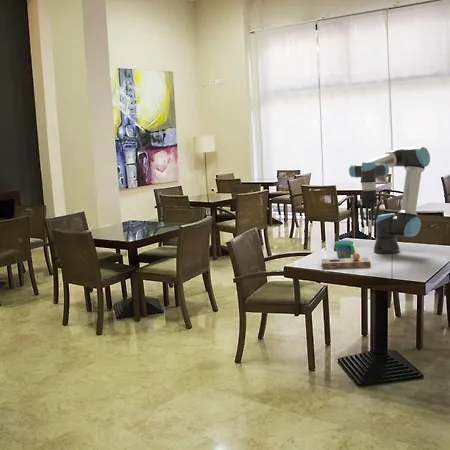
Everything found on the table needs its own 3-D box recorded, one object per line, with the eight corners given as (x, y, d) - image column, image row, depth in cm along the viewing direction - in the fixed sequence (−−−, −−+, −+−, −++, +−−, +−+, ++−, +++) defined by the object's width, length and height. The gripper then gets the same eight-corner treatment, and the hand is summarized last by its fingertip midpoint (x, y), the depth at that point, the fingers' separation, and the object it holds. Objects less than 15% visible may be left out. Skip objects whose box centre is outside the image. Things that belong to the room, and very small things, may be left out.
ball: (359, 259, 327) (359, 252, 326) (360, 260, 323) (360, 253, 322) (352, 259, 327) (352, 252, 327) (353, 260, 323) (352, 253, 323)
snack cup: (359, 259, 340) (359, 242, 339) (345, 262, 336) (344, 244, 334) (343, 255, 354) (343, 239, 353) (329, 257, 350) (328, 241, 348)
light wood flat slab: (367, 262, 331) (367, 257, 330) (370, 267, 319) (370, 261, 318) (321, 264, 334) (321, 259, 333) (322, 268, 322) (322, 263, 322)
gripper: (357, 191, 316) (358, 233, 319) (382, 189, 314) (383, 232, 317) (355, 189, 323) (357, 231, 326) (380, 188, 322) (381, 230, 325)
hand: (370, 232), depth 322 cm, fingers closed
